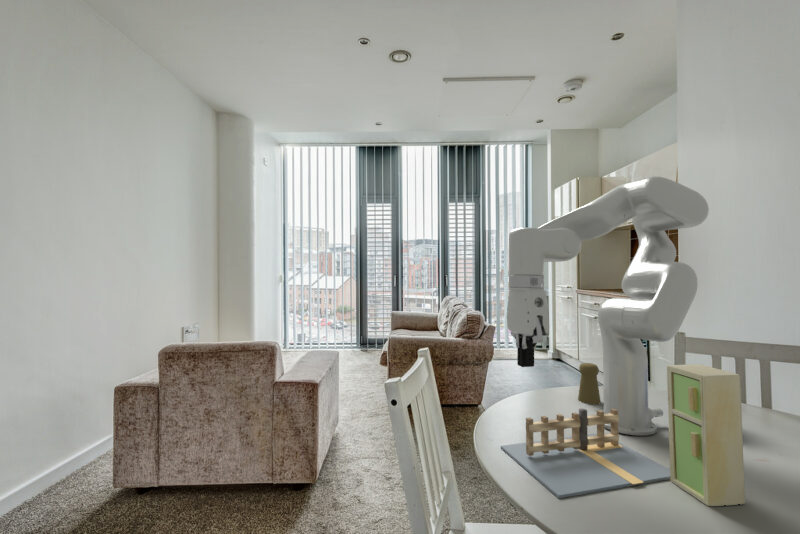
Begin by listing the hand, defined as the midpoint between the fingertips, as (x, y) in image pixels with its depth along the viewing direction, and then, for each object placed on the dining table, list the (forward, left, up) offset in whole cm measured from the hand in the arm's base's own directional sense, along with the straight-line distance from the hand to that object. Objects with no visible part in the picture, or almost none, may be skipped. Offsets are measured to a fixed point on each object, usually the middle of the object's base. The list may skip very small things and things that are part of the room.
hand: (525, 365), depth 84 cm
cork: (-34, -21, -17) cm, 44 cm away
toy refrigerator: (-19, +24, -17) cm, 35 cm away
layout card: (-6, +10, -17) cm, 21 cm away
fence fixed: (-13, +6, -17) cm, 23 cm away
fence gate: (-2, +6, -16) cm, 18 cm away
